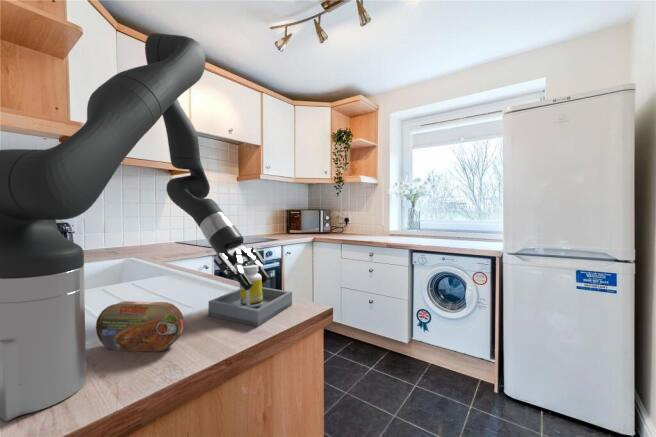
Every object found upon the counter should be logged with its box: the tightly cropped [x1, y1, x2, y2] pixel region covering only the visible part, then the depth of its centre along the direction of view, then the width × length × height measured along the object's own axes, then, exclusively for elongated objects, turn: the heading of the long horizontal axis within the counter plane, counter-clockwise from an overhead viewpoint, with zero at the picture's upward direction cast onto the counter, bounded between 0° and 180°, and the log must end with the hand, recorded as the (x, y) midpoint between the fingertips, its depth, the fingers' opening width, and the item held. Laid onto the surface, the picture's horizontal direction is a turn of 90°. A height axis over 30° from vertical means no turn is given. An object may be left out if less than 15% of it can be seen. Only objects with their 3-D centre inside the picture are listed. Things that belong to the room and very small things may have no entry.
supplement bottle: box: [239, 264, 263, 308], centre depth 71 cm, size 5×5×10 cm
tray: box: [207, 286, 293, 328], centre depth 71 cm, size 15×14×4 cm
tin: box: [95, 300, 185, 353], centre depth 52 cm, size 15×3×8 cm, turn 89°
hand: (258, 284), depth 70 cm, fingers open, 6 cm apart
